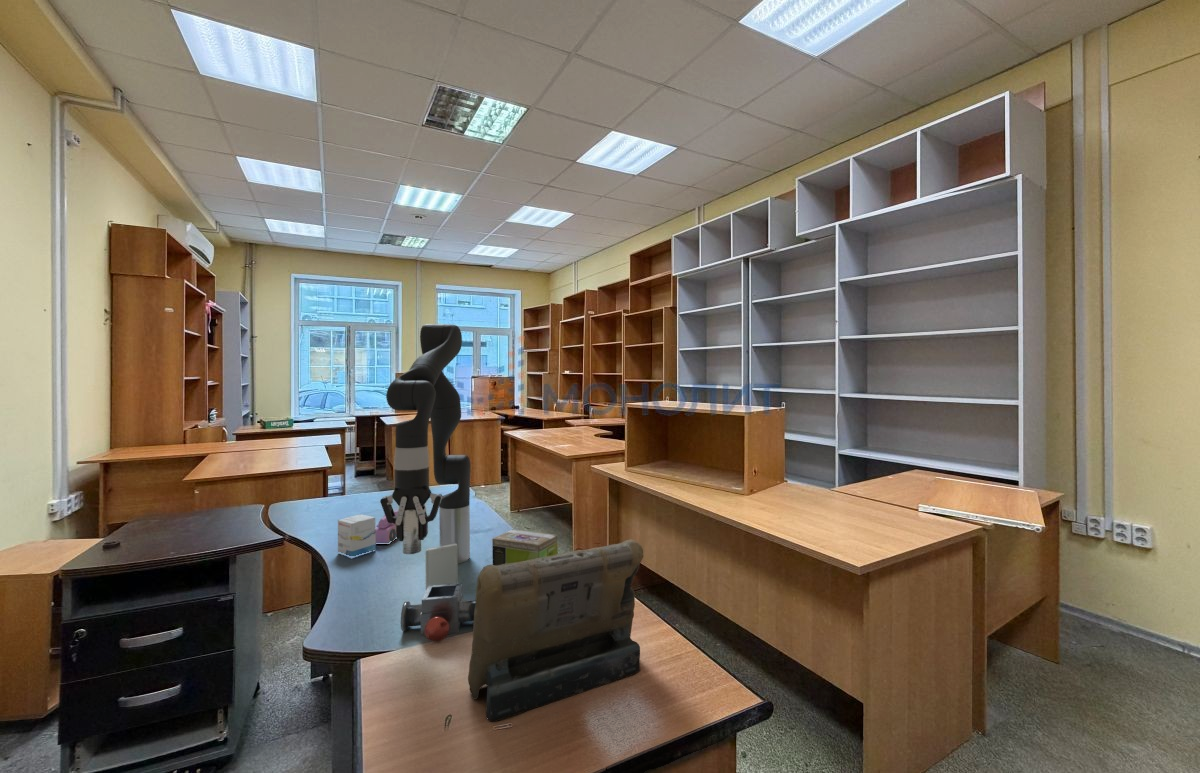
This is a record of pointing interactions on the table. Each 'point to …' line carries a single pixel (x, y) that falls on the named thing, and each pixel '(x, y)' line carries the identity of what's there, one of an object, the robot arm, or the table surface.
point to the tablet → (553, 627)
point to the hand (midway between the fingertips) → (412, 539)
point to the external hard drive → (442, 565)
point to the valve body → (438, 612)
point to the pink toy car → (385, 530)
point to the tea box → (522, 546)
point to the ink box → (356, 535)
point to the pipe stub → (411, 532)
